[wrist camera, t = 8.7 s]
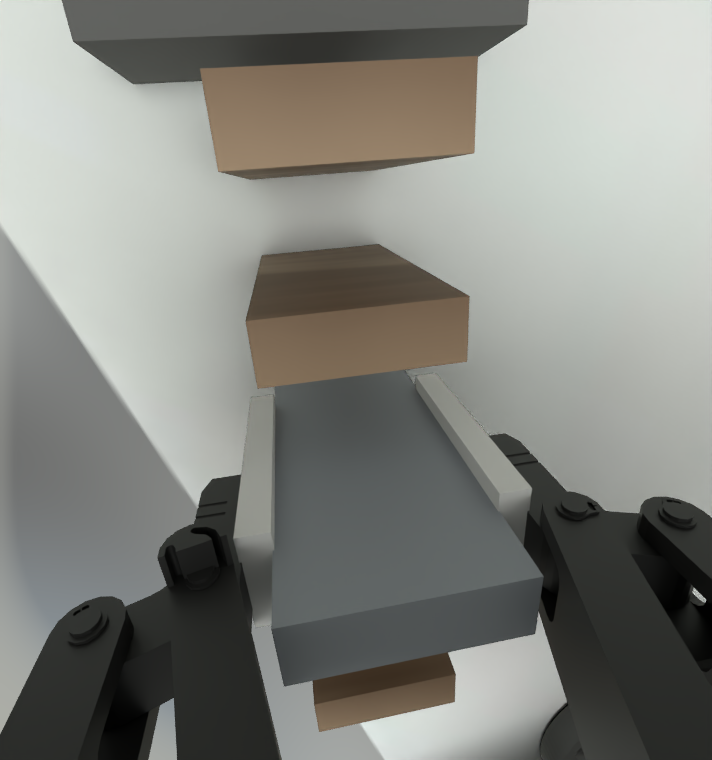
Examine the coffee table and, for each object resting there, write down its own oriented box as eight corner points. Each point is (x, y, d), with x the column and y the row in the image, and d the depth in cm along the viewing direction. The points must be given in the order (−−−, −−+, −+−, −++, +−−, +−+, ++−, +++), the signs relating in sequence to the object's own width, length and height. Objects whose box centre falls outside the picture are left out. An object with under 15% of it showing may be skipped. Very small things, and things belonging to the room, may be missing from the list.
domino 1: (375, 170, 18) (473, 152, 9) (250, 179, 17) (218, 171, 8) (373, 124, 17) (477, 55, 8) (242, 133, 17) (199, 68, 8)
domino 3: (405, 405, 18) (534, 634, 9) (280, 423, 17) (284, 686, 8) (404, 369, 17) (543, 576, 8) (274, 386, 17) (271, 628, 8)
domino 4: (391, 517, 25) (454, 702, 16) (304, 531, 25) (319, 732, 16) (390, 494, 25) (455, 674, 16) (300, 509, 24) (314, 704, 15)
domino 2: (380, 281, 20) (466, 361, 11) (267, 293, 19) (257, 388, 10) (378, 244, 19) (469, 296, 10) (261, 255, 18) (245, 320, 9)
